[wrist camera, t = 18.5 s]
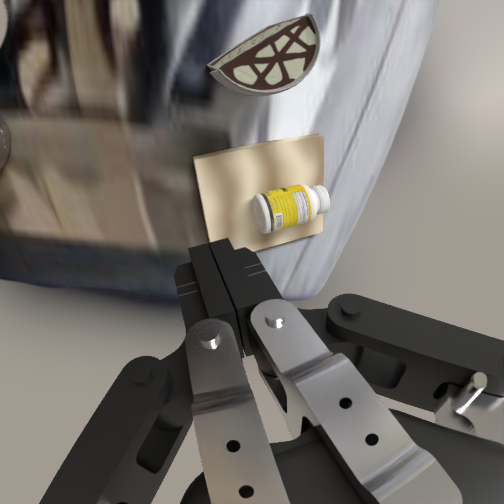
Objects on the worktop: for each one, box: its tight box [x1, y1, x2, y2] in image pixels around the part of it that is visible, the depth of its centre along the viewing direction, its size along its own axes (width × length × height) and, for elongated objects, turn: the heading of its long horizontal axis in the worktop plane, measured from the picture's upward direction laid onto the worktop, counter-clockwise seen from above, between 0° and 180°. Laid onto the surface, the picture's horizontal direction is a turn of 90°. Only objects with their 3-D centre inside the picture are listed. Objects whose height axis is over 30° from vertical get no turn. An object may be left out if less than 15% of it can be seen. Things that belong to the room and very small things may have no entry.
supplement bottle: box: [252, 184, 330, 234], centre depth 42 cm, size 5×5×10 cm
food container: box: [207, 13, 320, 96], centre depth 29 cm, size 12×6×10 cm, turn 125°
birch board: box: [193, 134, 324, 252], centre depth 44 cm, size 18×16×2 cm
